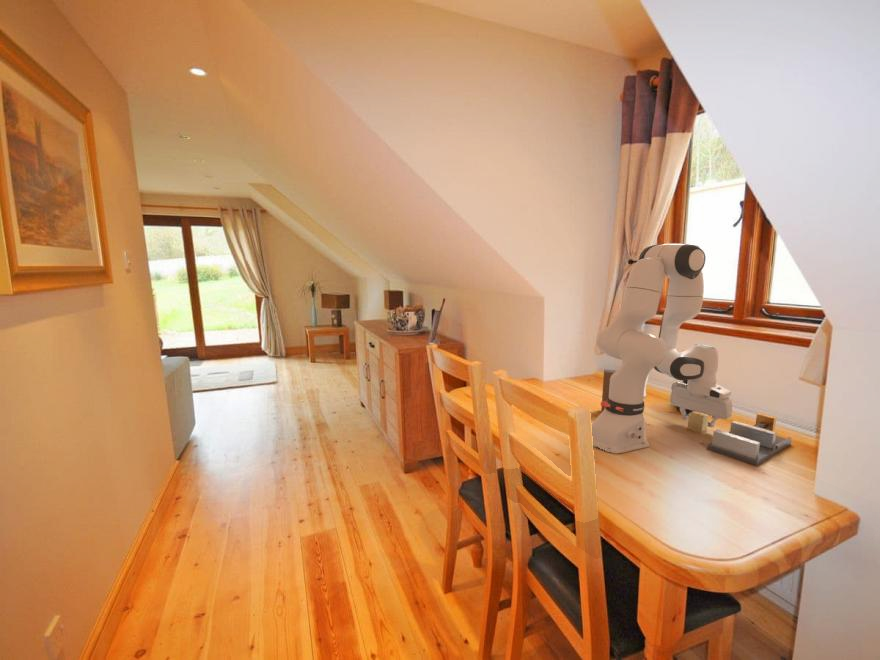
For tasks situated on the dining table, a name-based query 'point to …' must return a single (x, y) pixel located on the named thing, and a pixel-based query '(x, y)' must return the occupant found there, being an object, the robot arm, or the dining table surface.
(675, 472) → the dining table surface
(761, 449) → the vise base
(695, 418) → the brass block
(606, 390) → the brown tall block
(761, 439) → the sliding jaw
